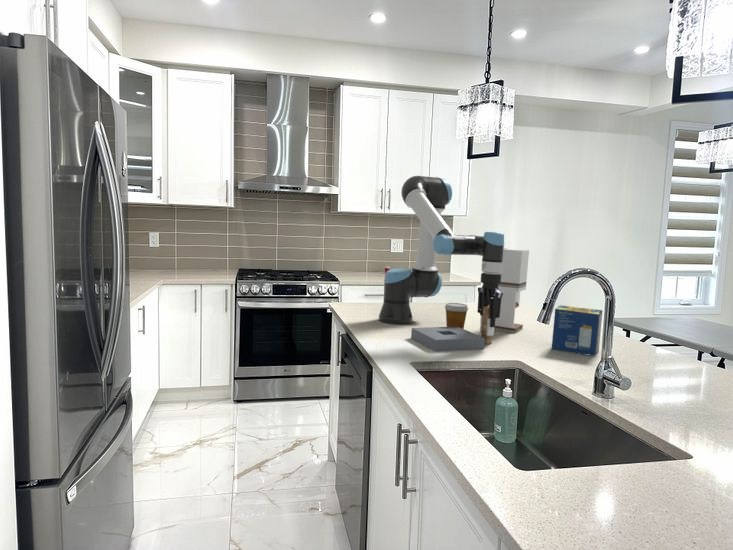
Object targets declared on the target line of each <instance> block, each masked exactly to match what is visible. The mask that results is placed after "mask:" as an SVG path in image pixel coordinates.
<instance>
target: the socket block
mask: <svg viewBox="0 0 733 550" xmlns="http://www.w3.org/2000/svg"><path fill="white" fill-rule="evenodd" d="M410 339H412V340H414V341H415V342H417V343H419V344H421V345H423V346H425V347H427V348H428V349H431V350H432V351H433V352H446V351H447V352H449V351H468V350H484V349H485V344H484V343H485V338H483V337H481V335H478V334H476V333H474V332H471V331H469V330H467V329H462V328H460V327H447V326H431V327H426V326H425V327H424V326H423V327H411V335H410Z"/></svg>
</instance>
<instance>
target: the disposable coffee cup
mask: <svg viewBox="0 0 733 550" xmlns="http://www.w3.org/2000/svg"><path fill="white" fill-rule="evenodd" d="M444 308H445V320H446V327H460V328H462V329H464V328H465V324H466V318H467V312H468V310H469V308H468V304H465V303H461V302H460V303H459V302H446V304H445V306H444ZM464 330H465V329H464Z"/></svg>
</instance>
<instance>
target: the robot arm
mask: <svg viewBox="0 0 733 550" xmlns="http://www.w3.org/2000/svg"><path fill="white" fill-rule="evenodd" d="M400 194H401V198H402V200H403V202H404V204H405V205H406V207H407V208H409V209H412V211H413V212H414V214H415V215H416V216H417V218H418V219H419V221H420V226H419V233H418V234H419V235H418V243H417V244H418V245H417V253H416V260H415V261H416V262H415V264H414V265H413V266H412V268H411V269H410V268H405V267H404V268H403V267H402V268H401V267H400V268H392V269H388V270H387V271H386V272H385V273H384V279H383V282H384V286H383V304H382V305H381V309H380V311H379V314H378V321H380V322H382V323H385V324H392V325H406V324H412V323H413V314H412V310H411V306H410V299H411V298H429V297H435V296H436V295H437V294H439V293H440V291H441V288H442V284H443V280H442V275H441V274H440V273H439V269H438V268H437V266H436V262H437V261H436V259H437V254H438V255H444V256H456V255H457V256H458V255H460V256H462V255H463V256H481V273H480V283H482V286H481V287H477V293H478V294H477V297H478V298H477V313H479V315H480V325H479V327H480V328H479V333H480V334H481V332H482V318H483V306H489V317H488V322H487V336H490V335H492V336H494V335H495V330H494V327H495V319H496V318H499V317H500V308H501V298H502V295H503V292H499V291H498V284H500V283H501V274H500V273H501V272H502V263H503V262H502V261H503V250H504V248H505V234H504V233H503V232H501V231H499V232H498V231H485V232H484V233H483V236H482V235H481V236H480V235H475V234H474V235H472V234H471V235H470V234H469V235H462V234H461V235H460V234H455V233H454V231H453V230H452V229H451V228H450V227H449V225H448V224H447V223H446V221H445V220H444V219H443V217H442V213H443V212H444V211H445V210H446V206H447V205H449V204H450V202H451V200H452V198H453V188H452V185H451V183H450V182H449V180H447V179H446V178H442V177H438V176H435V177H433V176H424V175H423V176H422V175H414V176H410V177H409V178H408V179H406V181H405V182H404V183H403V185H402V187H401V193H400Z"/></svg>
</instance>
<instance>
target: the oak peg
mask: <svg viewBox="0 0 733 550" xmlns="http://www.w3.org/2000/svg"><path fill="white" fill-rule="evenodd" d="M488 317H489V306H483V318H482V332H481V333H480V336H481V337H483V338H485V343H484V345H491V344H492V340H493V335H490V336H487V322H488Z"/></svg>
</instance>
